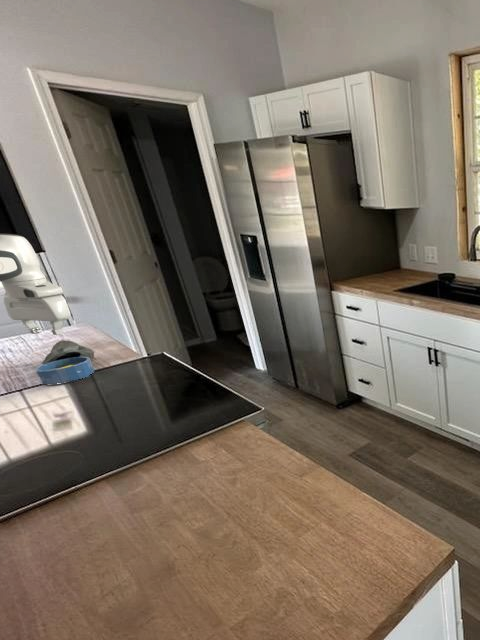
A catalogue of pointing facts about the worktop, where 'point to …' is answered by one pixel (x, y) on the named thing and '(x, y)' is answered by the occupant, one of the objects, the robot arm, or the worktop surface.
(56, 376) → the bowl
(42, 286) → the robot arm
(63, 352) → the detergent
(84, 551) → the worktop surface
